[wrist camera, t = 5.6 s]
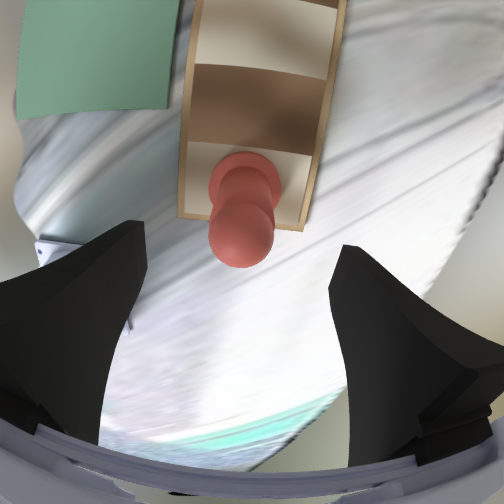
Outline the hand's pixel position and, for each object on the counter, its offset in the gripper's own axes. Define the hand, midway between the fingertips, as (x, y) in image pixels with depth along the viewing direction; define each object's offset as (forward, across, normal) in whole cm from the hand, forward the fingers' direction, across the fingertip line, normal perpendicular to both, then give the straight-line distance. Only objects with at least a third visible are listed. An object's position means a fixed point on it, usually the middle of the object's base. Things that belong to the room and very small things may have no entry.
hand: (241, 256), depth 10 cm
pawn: (+8, 0, 0) cm, 8 cm away
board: (+8, 0, -9) cm, 12 cm away
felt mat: (+8, +11, -11) cm, 18 cm away
